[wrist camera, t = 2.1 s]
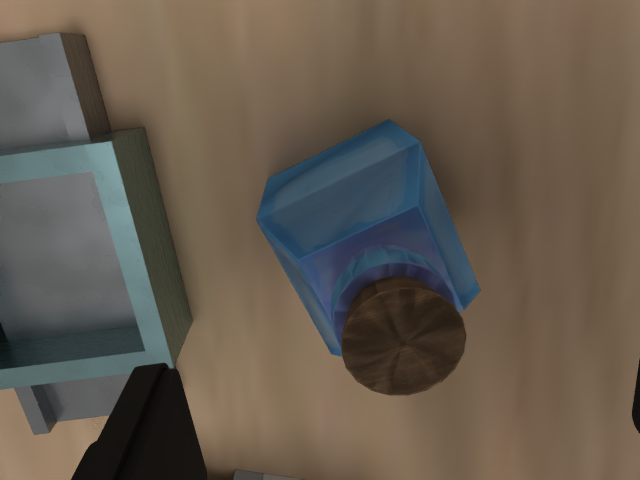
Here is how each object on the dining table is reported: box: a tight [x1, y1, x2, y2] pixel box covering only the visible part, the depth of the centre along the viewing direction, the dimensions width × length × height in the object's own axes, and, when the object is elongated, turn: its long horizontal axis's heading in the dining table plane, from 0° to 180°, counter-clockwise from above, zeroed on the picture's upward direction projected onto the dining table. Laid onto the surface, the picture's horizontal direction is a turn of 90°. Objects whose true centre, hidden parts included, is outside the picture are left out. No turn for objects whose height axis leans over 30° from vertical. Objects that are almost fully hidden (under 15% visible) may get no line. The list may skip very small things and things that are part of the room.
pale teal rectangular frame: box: [0, 33, 193, 435], centre depth 22 cm, size 10×18×4 cm, turn 7°
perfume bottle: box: [256, 120, 480, 395], centre depth 18 cm, size 6×6×12 cm
